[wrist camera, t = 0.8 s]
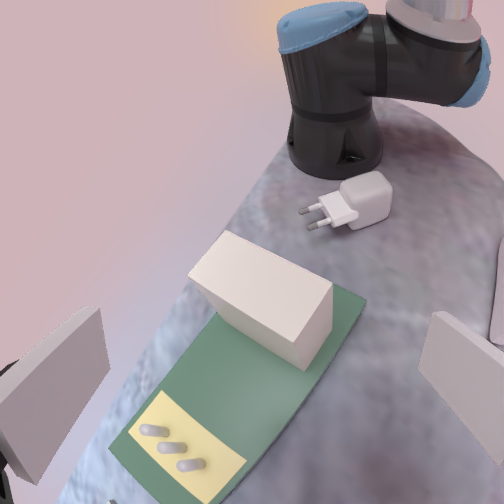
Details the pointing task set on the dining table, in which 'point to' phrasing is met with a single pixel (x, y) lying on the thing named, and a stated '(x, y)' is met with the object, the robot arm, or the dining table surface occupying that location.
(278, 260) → the block
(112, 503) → the hard drive
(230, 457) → the board
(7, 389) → the robot arm
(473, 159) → the dining table surface
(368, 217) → the power adapter
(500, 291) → the cable organizer
